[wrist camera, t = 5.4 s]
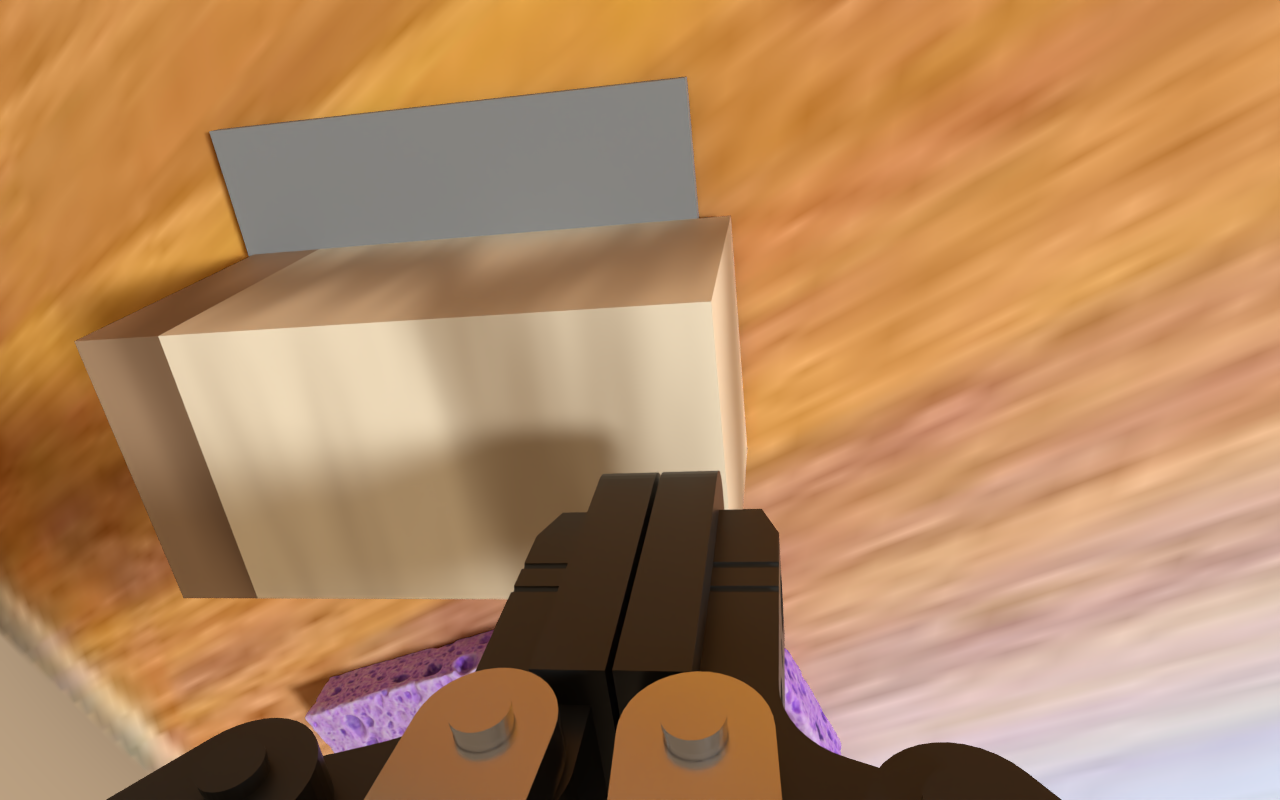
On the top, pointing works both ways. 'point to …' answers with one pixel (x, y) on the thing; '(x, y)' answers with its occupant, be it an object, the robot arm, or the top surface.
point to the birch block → (420, 403)
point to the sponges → (399, 687)
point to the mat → (464, 168)
